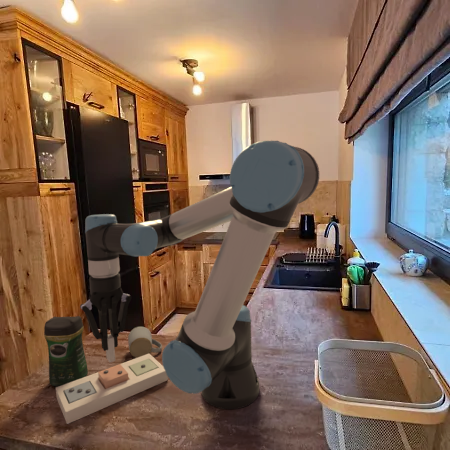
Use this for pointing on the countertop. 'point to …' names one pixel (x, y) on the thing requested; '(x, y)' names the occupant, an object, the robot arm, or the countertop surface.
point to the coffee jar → (65, 350)
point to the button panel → (109, 390)
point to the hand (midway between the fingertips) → (110, 359)
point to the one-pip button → (142, 367)
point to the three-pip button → (79, 392)
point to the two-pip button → (112, 376)
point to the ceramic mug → (142, 342)
